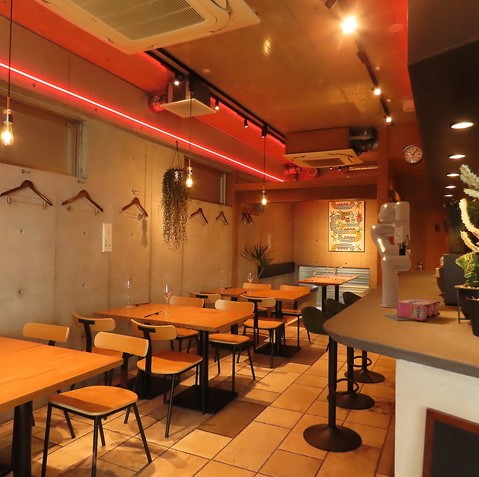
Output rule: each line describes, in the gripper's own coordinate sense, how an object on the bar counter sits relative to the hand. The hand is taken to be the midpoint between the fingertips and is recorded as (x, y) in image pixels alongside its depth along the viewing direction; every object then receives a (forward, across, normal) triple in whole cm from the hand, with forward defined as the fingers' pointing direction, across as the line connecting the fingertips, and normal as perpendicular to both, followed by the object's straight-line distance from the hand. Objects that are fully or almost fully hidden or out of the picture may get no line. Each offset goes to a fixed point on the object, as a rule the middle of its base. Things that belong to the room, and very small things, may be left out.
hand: (402, 255), depth 234 cm
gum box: (+27, +13, -6) cm, 31 cm away
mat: (+32, +19, -5) cm, 38 cm away
